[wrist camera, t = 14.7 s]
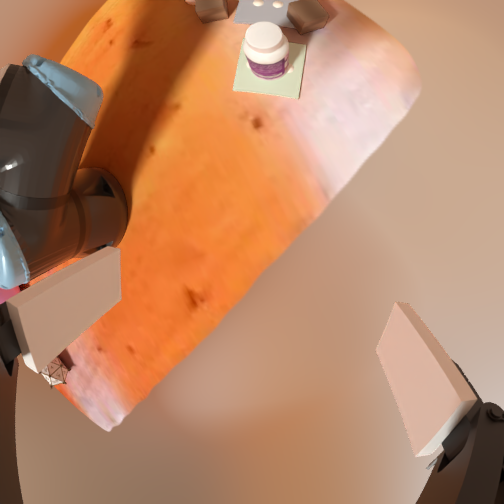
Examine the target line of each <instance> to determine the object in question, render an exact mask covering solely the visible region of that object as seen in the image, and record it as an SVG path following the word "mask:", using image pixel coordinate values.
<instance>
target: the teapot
mask: <svg viewBox="0 0 504 504" xmlns="http://www.w3.org/2000/svg"><path fill="white" fill-rule="evenodd" d="M20 292H21V291H20V288H19V285H18V286H16V287H14V288H12V289H2V288H0V304H2V303H3V302H5V301H6V300H8V299H9V298H11V297H13V296H14V295H16V294H18V293H20Z"/></svg>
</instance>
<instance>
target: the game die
mask: <svg viewBox="0 0 504 504" xmlns="http://www.w3.org/2000/svg"><path fill="white" fill-rule="evenodd" d="M58 356H59V355H58ZM58 356H57V357H55V358H54V359H53V360H52V361H51V362H50V363H49V364H48V365H47V366H46V367H45V368H44V369H43V370H42V371H41V372H39V373H41V374H42V375H43V376H44V377H45V379H46V380H47V381H48V382H49V384H50V385H51V389H52V386H54V385H57V384H61V383H63V384H64V383H65V384H66V382H65V379H66V376H67V373H68V370H69V371H70V370H71V369H67V368H66V366H65V365H64V364H63V363H62V361H61V360H60V359H59V358H58Z"/></svg>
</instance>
